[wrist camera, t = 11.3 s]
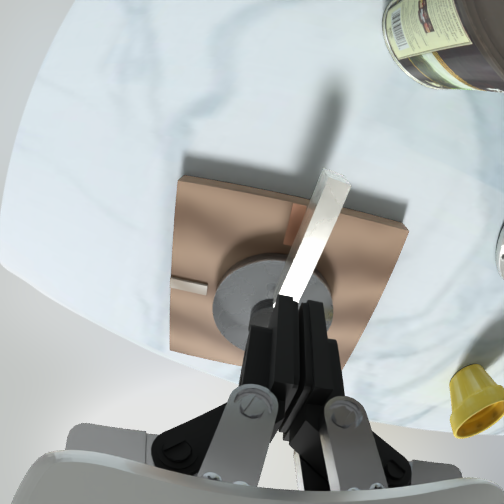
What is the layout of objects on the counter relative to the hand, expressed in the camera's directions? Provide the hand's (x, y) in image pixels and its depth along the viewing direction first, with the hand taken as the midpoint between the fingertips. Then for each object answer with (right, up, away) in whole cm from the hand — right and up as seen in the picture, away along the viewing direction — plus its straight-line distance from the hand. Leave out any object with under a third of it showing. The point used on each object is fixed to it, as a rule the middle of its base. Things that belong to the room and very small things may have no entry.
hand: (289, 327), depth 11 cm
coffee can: (+15, +23, +8) cm, 28 cm away
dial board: (+1, -1, +22) cm, 23 cm away
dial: (+2, +1, +18) cm, 18 cm away
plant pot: (+34, -18, +28) cm, 48 cm away
